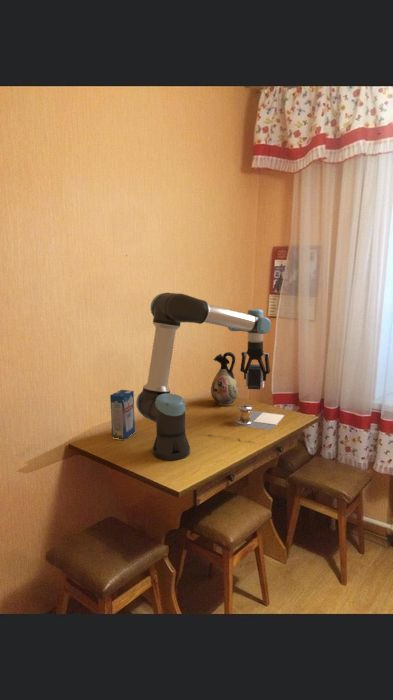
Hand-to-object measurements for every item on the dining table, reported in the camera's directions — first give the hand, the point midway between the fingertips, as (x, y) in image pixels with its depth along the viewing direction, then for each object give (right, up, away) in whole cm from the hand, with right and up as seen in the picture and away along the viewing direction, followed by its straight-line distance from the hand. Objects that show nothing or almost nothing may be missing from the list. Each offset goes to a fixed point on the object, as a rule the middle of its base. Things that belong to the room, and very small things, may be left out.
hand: (254, 386), depth 214 cm
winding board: (+2, -17, -4) cm, 18 cm away
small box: (0, 0, 0) cm, 0 cm away
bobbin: (-6, -17, -9) cm, 20 cm away
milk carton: (-62, -21, -20) cm, 68 cm away
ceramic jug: (-13, -12, +27) cm, 32 cm away
